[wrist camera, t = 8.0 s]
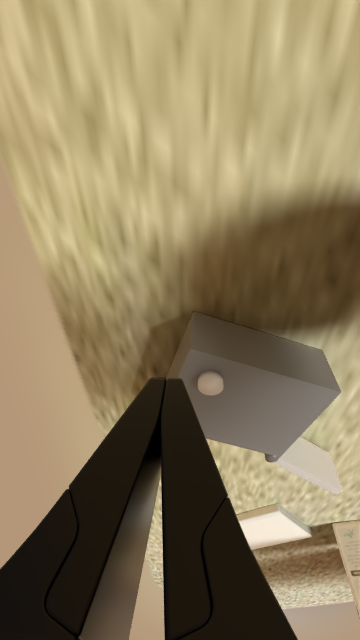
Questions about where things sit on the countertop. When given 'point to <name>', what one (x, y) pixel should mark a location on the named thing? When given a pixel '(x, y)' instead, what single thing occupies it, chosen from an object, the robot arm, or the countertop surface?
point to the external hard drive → (272, 526)
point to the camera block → (251, 384)
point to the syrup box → (350, 554)
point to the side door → (309, 464)
